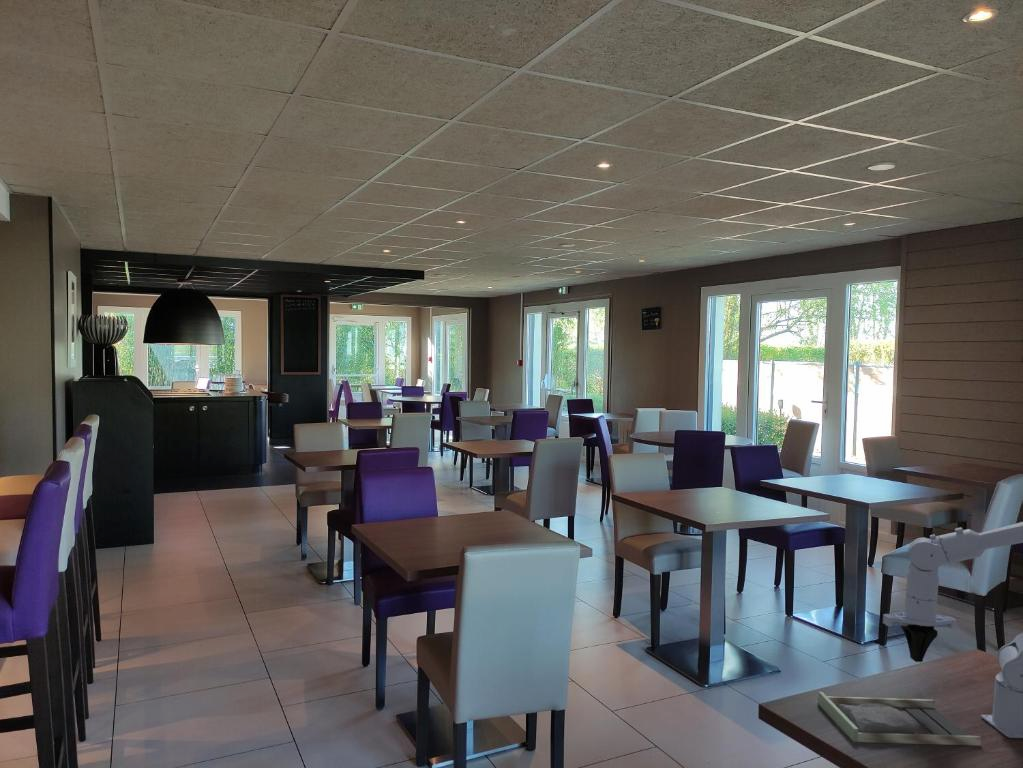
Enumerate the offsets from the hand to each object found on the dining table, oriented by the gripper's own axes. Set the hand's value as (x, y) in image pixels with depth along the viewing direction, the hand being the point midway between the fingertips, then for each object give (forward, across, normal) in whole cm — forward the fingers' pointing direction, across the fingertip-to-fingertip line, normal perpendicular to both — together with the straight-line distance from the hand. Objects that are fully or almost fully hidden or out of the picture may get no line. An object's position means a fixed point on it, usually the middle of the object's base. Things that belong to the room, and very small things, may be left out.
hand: (916, 659), depth 150 cm
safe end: (+9, +21, +8) cm, 24 cm away
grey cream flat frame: (+9, +8, +8) cm, 15 cm away
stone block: (+10, +14, +10) cm, 20 cm away
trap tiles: (+9, 0, +8) cm, 13 cm away
